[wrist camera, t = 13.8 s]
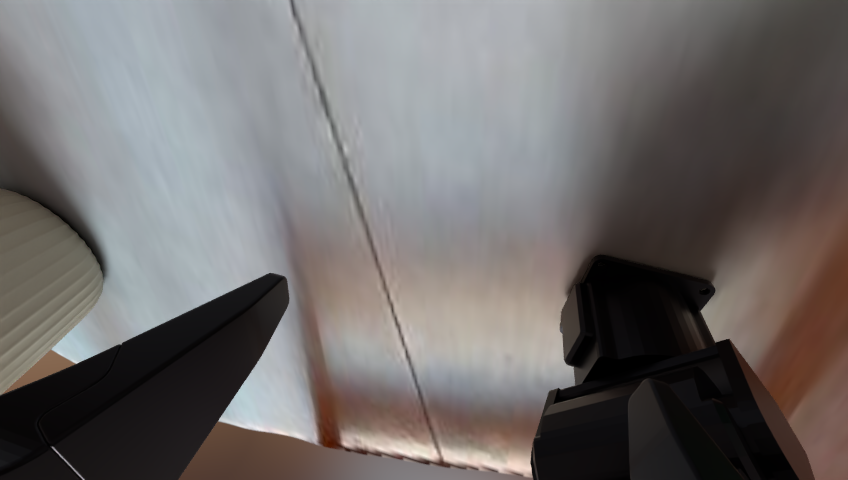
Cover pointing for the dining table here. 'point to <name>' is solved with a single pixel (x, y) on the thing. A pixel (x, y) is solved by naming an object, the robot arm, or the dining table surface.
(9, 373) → the canister
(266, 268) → the dining table surface
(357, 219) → the dining table surface
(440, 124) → the dining table surface
